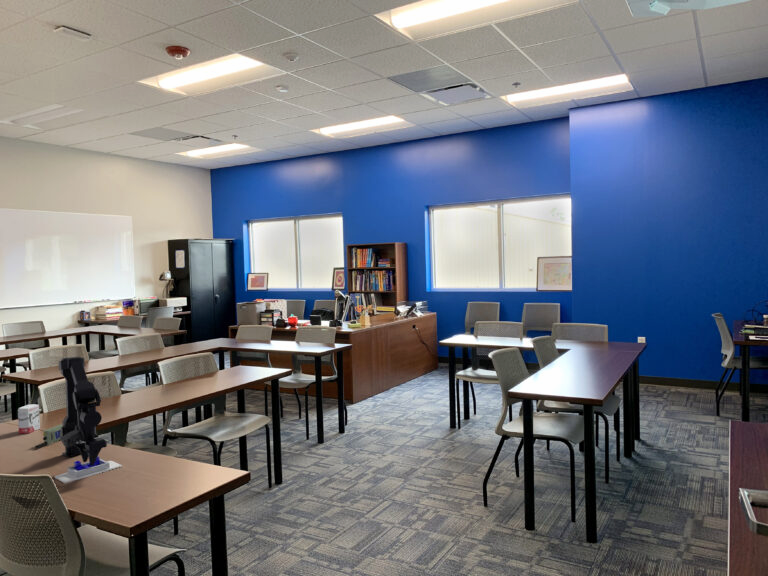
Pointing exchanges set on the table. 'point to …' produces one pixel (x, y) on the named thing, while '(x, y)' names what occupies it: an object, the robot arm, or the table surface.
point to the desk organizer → (87, 471)
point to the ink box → (28, 418)
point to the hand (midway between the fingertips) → (88, 463)
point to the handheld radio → (50, 436)
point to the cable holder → (79, 467)
